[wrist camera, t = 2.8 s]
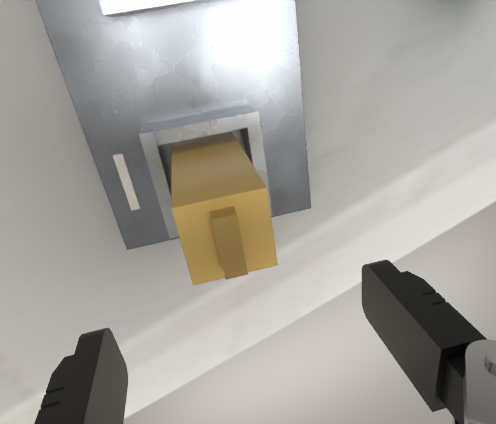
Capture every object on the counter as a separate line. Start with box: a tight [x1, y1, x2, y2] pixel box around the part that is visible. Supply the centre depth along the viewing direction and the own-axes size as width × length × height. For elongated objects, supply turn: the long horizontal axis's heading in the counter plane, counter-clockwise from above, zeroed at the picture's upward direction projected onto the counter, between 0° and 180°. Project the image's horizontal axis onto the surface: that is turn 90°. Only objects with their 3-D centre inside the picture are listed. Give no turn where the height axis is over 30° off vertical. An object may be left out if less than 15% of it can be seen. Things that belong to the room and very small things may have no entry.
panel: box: [36, 0, 311, 250], centre depth 21 cm, size 14×24×4 cm, turn 9°
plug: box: [171, 131, 278, 285], centre depth 20 cm, size 4×4×11 cm
